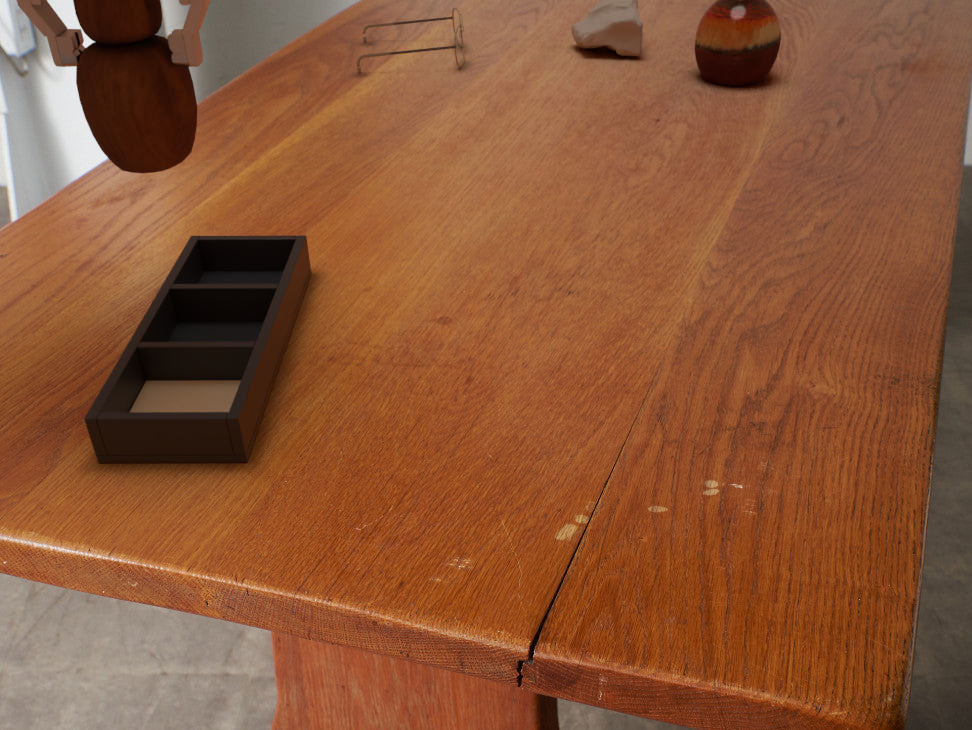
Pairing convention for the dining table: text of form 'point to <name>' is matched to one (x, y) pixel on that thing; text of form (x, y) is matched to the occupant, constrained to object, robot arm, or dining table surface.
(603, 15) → the decorative stone
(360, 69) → the eyeglasses
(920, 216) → the dining table surface
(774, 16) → the vase
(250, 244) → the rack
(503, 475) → the dining table surface
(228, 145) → the dining table surface
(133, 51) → the wooden figurine
